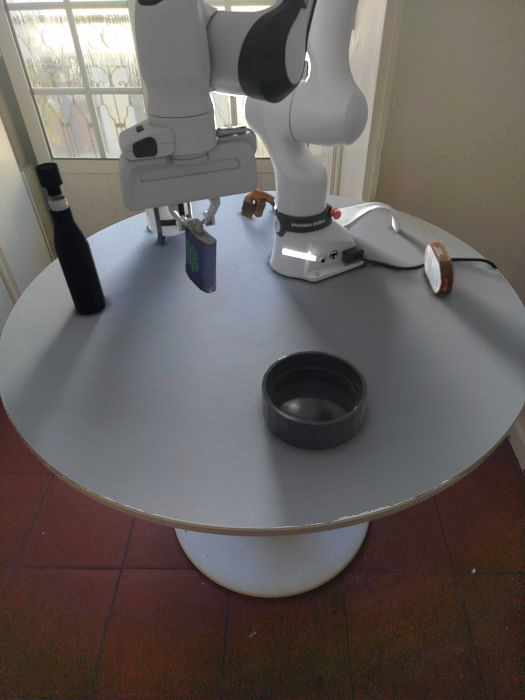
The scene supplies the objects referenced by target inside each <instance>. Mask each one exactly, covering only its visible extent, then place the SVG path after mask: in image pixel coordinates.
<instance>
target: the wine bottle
mask: <svg viewBox="0 0 525 700" xmlns="http://www.w3.org/2000/svg"><path fill="white" fill-rule="evenodd" d="M34 170H35V172H36V176H37V179H38V181H39V185H40V187H41V188H43V189H45V190H46V193H47V197H48V198H47V200H48V202H47V204H48V206H49V214H50V216H51V219H52V222H53V245H54V251H55V254H56V256H57V259H58V262H59V265H60V269H61V271H62V274H63V276H64V280H65V282H66V285H67V288H68V291H69V294H70V297H71V300H72V302H73V305H74V308H75V311H76V312H77V313H78V314H80V315H84V316H90V315H95V314H98V313H100V312H102V311H103V310H104V309H105V308H106V306H107V300H106V297H105V293H104V289H103V286H102V283H101V280H100V277H99V273H98V270H97V265H96V263H95V259H94V256H93V253H92V249H91V246H90V242H89V241H88V239H87V237H86V235H85V233H84V230H83V229H82V228H81V227H80V225H79V224H78V222H77V221H76V219H75V217H74V213H73V211H72V207H71V206H70V205H69V202H68V199H67V198H66V196H65V195H64V192H63V190H62V185H63V184H64V180H63V176H62V173H61V169H60V167H59V164H58V163H57V162H43V163H39V164H37V165H35V168H34Z"/></svg>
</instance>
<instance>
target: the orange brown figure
mask: <svg viewBox="0 0 525 700" xmlns="http://www.w3.org/2000/svg"><path fill="white" fill-rule="evenodd" d="M275 200H276V196H274V195H273V194H271V193H268V192H266V191H264V190H262V189H260V188H258V187H257V188H256V190H255V191H254V192H249V193H245V195H244V196H243V201H242V205H241V208H240V214H241V215H242V216H243V217H245V218H247V219H249V220H252V219H253V216H254V217H256V218H261V217H263V215H264V210H265V209H266V206H267V203H268V204H269V205H271V207H272V208H271V212H272V213H274V209H275V205H276V202H275Z"/></svg>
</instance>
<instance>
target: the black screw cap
mask: <svg viewBox="0 0 525 700" xmlns="http://www.w3.org/2000/svg"><path fill="white" fill-rule="evenodd" d="M367 396H368V385H367V381H366V379H365V376H364V374H363V373H362V372H361V371H360V369H359V368H358V367H357V366H356V365H354V364H353V363H352V362H351V361H349V360H348V359H346V358H345V357H344V358H343V357H342V356H339V355H337V354H334V353H330V352H326V351H318V350H304V351H297V352H293V353H290V354H287V355H284V356H283V357H280V358H279V359H277V360H275V361H274V362H273V363H272V364H271V365H270V366H269V367H268V368H267V370H266V371H265V373H264V374H263V377H262V380H261V400H262V402H261V403H262V404H261V406H262V415H263V419H264V421H265V423H266V425H267V427H268V428H269V429H270V430H271V431H272V433H274V434H275V436H277V437H279V438H280V439H281V440H283V441H285V442H286V443H289V444H291V445H294V446H297V447H300V448H307V449H323V448H331V447H334V446H337V445H340V444H342V443H344V442H346V441H347V440H348V439H350V438H352V437H353V436H354V435H355V434H356V433H357V431H358V430H359V429H360V428H361V426H362V422H363V420H364V415H365V410H366V409H365V408H366V403H367Z"/></svg>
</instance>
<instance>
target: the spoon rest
mask: <svg viewBox="0 0 525 700" xmlns="http://www.w3.org/2000/svg"><path fill="white" fill-rule="evenodd" d="M337 209H338V210H339V211H340V212H341V214H342V215H341V217H340V218H339V219H337V220H336V219H334V218H333V217H332V219H333V220H335V221H336V222H338V223H339V224H341V225H342V226H343V227H345V228H346V229H347V230H348V231H350V230H351V229H352V228H353V227H354V226H355V225H356V224H357V223H359V221H361V220H362V219H363V218H364V217H365V216H367V215H368V214H371V213H373V212H375V211H383V212H386V213H388V214H389V215H390V216H391V218H392V219H391V221H392V222H391V224H392V225H391V226H392V228H393V229H394V231H395V232H400V231H401V222H400V217H399V215H397V213H396V211H395V209H394V208H393V207H392V206H391V205H389V204H387V203H384V202H380V201H372V202H371V201H370V202H365V203H360V204H356V205H353V206H352V205H351V206H346V207H339V208H337Z"/></svg>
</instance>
